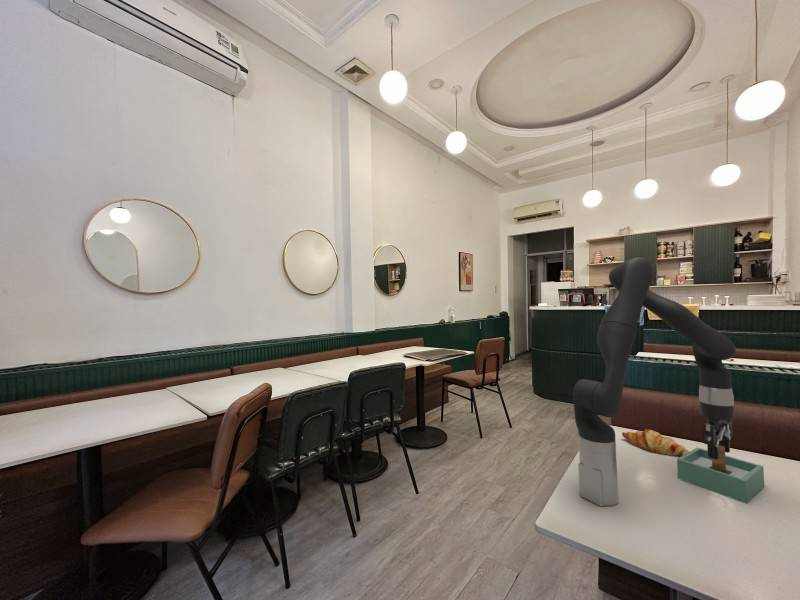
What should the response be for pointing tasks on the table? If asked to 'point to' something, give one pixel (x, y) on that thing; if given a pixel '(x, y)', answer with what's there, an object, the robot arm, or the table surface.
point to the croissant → (655, 442)
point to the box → (722, 475)
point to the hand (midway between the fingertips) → (719, 454)
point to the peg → (720, 460)
